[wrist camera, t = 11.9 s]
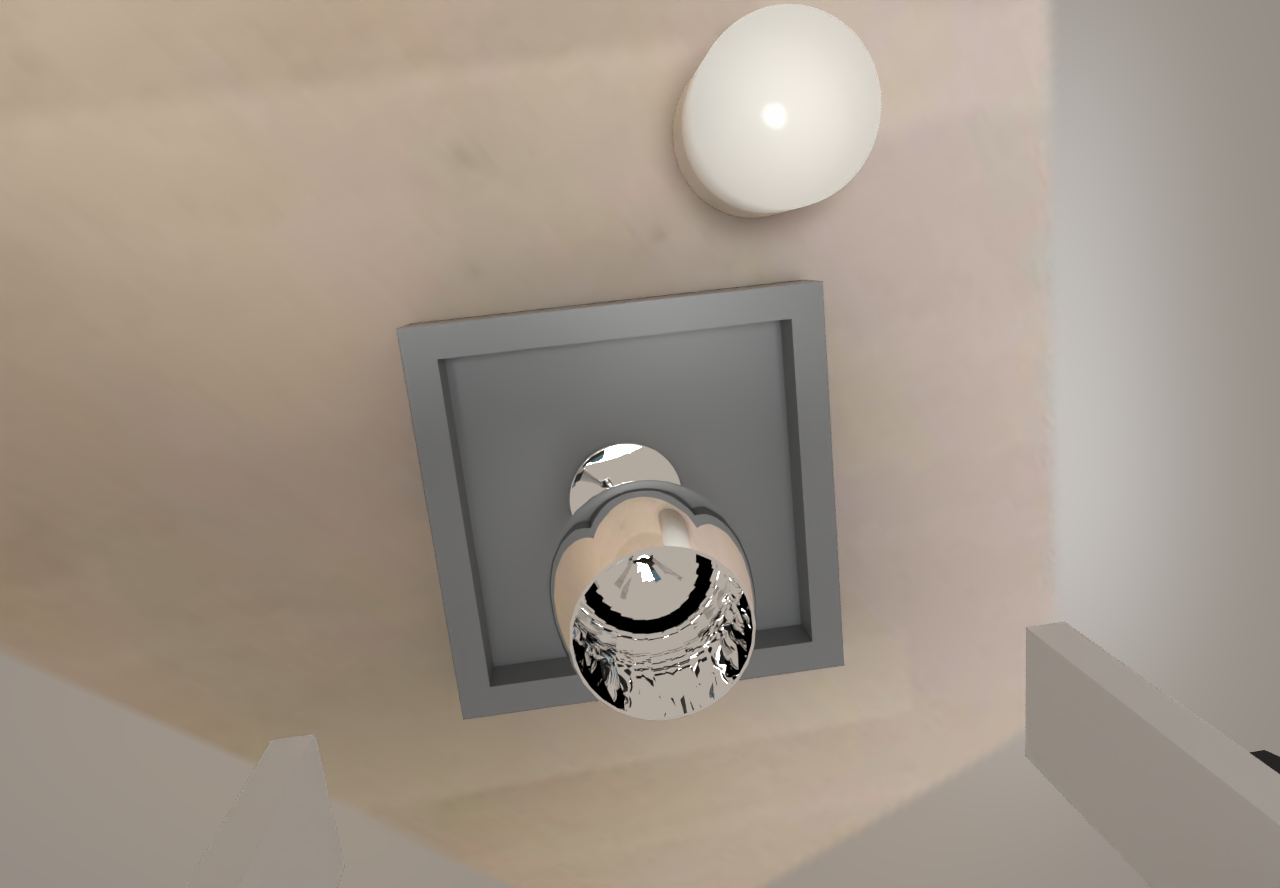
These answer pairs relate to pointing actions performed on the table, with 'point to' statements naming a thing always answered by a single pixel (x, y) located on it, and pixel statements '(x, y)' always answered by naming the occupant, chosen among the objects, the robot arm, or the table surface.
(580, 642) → the wineglass
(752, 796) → the table surface
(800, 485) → the tray
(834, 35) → the white pillar candle
